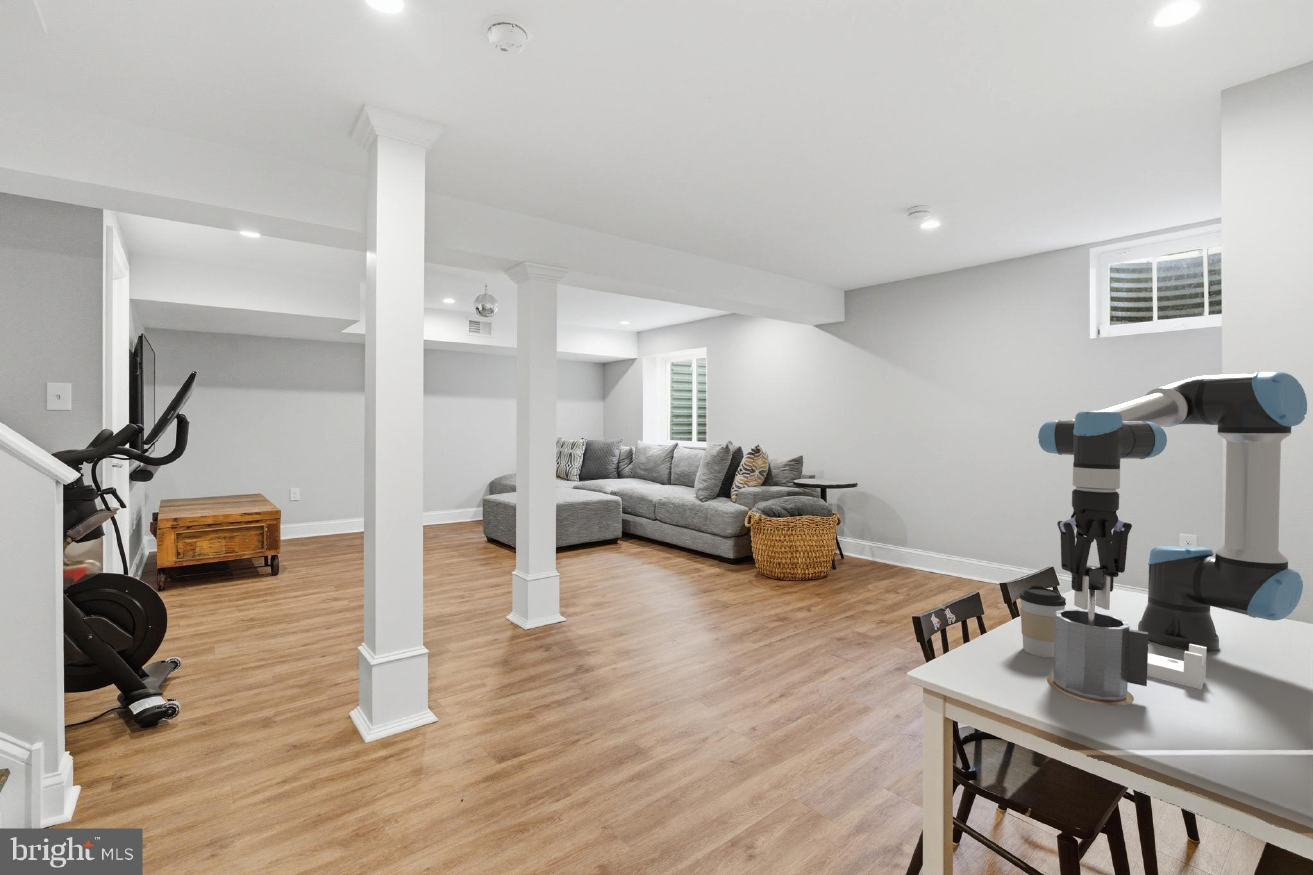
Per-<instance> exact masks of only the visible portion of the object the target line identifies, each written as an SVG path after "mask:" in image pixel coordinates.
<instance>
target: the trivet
mask: <svg viewBox="0 0 1313 875" xmlns="http://www.w3.org/2000/svg"><path fill="white" fill-rule="evenodd" d="M1053 678H1054V674H1050V675H1049V676H1047V678H1046V682H1047V684H1048V686H1050V687H1051V688H1053V689H1054V690H1056V691H1057V692H1059V693H1061V694H1063V695H1065V696H1068V697H1070V698H1074V699H1077V700H1080V701H1083V702H1087V703H1093V704H1098V705H1103V706H1104V705H1105V706H1127V705H1130V704H1132V703H1133V702H1134V699H1135V697H1134V695H1133V694H1132V693H1131V691H1129V690H1127V698H1126V700H1124V701H1121V702H1100V701H1093V700H1089V699H1085V698H1081V697H1078V696H1075V695H1072V694H1070V693H1067V692H1065V691H1063V690H1061V689H1060V688H1058V687H1057V686H1056V685H1055V684H1054V682H1053Z"/></svg>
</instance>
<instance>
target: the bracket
mask: <svg viewBox="0 0 1313 875" xmlns="http://www.w3.org/2000/svg"><path fill="white" fill-rule="evenodd" d="M1207 652H1208V651H1207V647H1203V646H1199V645H1194V644H1189V650H1185V651H1184V652H1183V660H1180V659H1176V658H1172V657H1171V658H1170V657H1167V656H1163V655H1158V654H1154V653H1149V652H1148V665H1147V677H1152V678H1155V679H1158V680H1163V681H1167V682H1170V683H1173V684H1178V685H1181V686H1186V687H1190V688H1194V689H1198V690H1202V689H1203V688H1204V682H1205V681H1206V677H1207V676H1206V675H1207V671H1206V670H1207Z"/></svg>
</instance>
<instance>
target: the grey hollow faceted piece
mask: <svg viewBox="0 0 1313 875" xmlns="http://www.w3.org/2000/svg"><path fill="white" fill-rule="evenodd" d="M1148 637H1149V634H1148V632H1143V631H1138V629H1137V630H1136V629H1131V626H1130V625H1129V623H1128V621H1127V620H1124V619H1122V618H1119V617H1118V616H1114V615H1110V614H1107V613H1102V612H1097V611H1095V615H1094V626H1090V625H1088V610H1084V609H1080V608H1079V609H1073V608H1071V609H1067V608H1065V609H1063V610H1059V611H1056V612H1055V642H1054V657H1053V675H1054V678H1053V682H1054V684H1055V685H1056V686H1057V687H1058V688H1060V689H1061V690H1063V691H1065V692H1067V693H1070V694H1072V695H1075V696H1078V697H1081V698H1085V699H1089V700H1093V701H1100V702H1121V701H1124V700H1126V698H1127V691H1128V688H1129V687H1128V686H1129V685H1128V684H1133V685H1138V686H1142V687H1147V686H1148V676H1147V665H1148V653H1149V640H1148Z"/></svg>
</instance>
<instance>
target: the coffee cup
mask: <svg viewBox="0 0 1313 875" xmlns="http://www.w3.org/2000/svg"><path fill="white" fill-rule="evenodd" d="M1019 599H1020V624H1021V625H1020V626H1021V628H1020V629H1021V635H1022V649H1023V651H1024V652H1026V653H1028V654H1030V655H1034V656H1037V657H1041V658H1042V657H1043V658H1054V642H1055V612H1056V611H1059V610H1063V609H1066V605H1067V602H1066V600H1067V599H1066V598H1065V596H1063V595H1062V594H1061V592H1060V591H1057V590H1054V589H1051V588H1046V587H1044V586H1042V585H1031V586H1029V587H1026V588H1025V589H1024V591H1021V592H1020V593H1019Z"/></svg>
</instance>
